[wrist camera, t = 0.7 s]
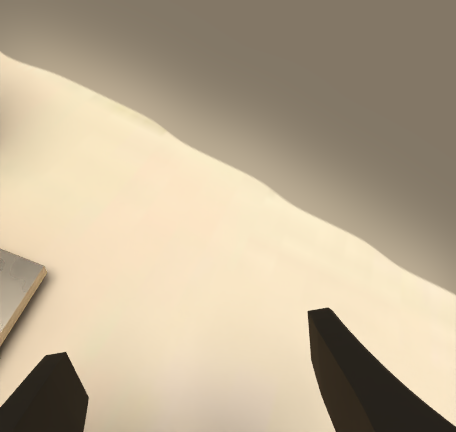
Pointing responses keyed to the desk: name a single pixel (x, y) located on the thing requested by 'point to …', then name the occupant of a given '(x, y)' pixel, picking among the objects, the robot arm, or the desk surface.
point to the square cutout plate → (16, 288)
